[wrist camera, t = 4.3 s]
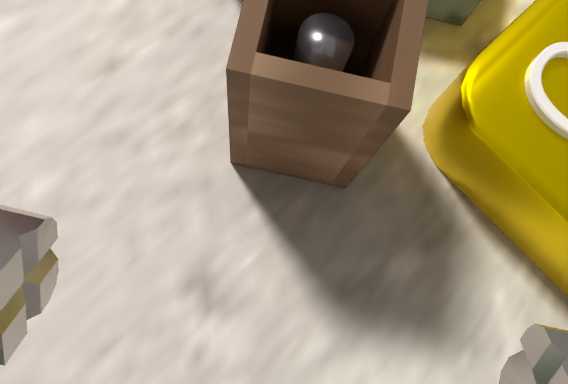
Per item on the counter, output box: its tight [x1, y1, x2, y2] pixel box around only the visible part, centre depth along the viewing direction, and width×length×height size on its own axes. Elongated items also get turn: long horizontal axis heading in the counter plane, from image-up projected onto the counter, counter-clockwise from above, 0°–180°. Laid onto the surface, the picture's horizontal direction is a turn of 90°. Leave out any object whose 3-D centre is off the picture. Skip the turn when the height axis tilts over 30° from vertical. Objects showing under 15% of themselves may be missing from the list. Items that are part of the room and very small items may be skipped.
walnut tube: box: [226, 0, 428, 188], centre depth 17 cm, size 5×5×8 cm
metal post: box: [292, 13, 354, 72], centre depth 18 cm, size 2×2×6 cm
